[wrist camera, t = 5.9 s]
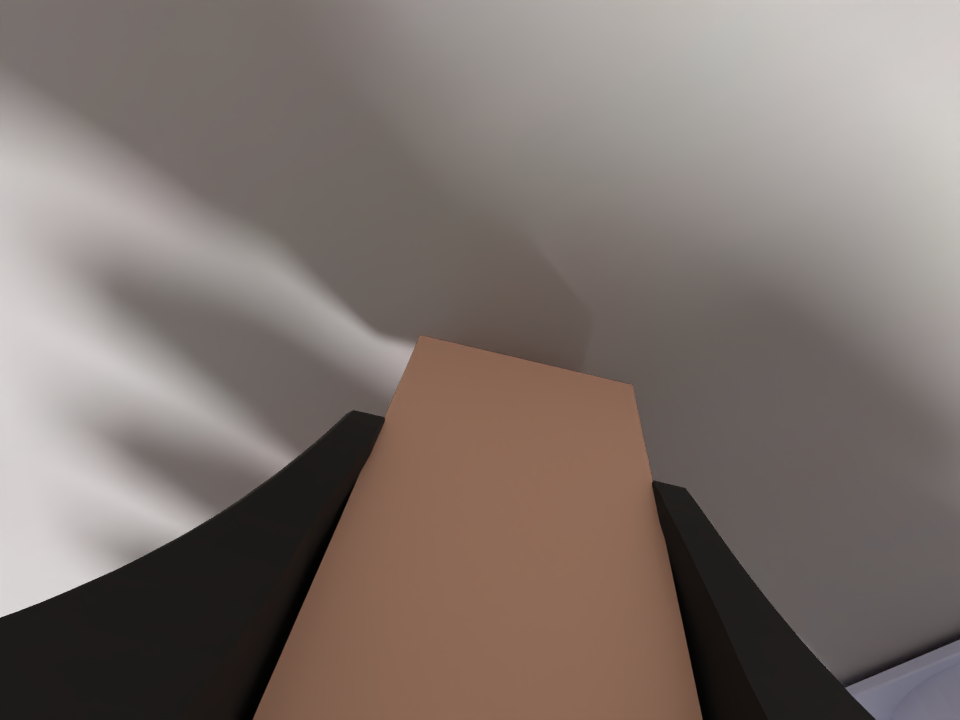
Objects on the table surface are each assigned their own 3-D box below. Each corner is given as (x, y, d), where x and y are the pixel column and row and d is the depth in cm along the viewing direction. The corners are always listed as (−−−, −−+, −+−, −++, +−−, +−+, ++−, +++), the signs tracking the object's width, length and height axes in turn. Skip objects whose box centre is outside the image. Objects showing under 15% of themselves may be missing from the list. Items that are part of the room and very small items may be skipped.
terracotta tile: (608, 446, 15) (682, 1046, 6) (408, 398, 15) (198, 934, 6) (632, 385, 14) (759, 987, 5) (420, 334, 14) (192, 857, 5)
